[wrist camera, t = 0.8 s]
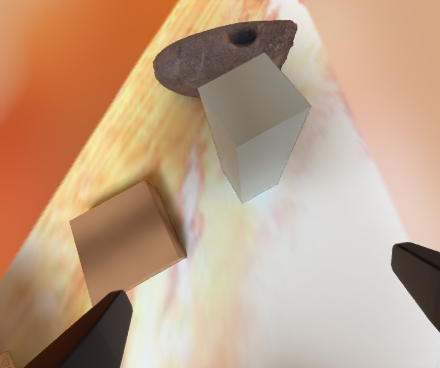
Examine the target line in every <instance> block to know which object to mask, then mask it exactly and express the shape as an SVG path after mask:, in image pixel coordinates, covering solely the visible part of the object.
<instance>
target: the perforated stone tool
mask: <svg viewBox="0 0 440 368" xmlns="http://www.w3.org/2000/svg"><path fill="white" fill-rule="evenodd" d="M296 31H297V24H295V23H294V22H293V21H291V20H273V21H251V22H240V23H235V24H230V25H226V26H222V27H217V28H214V29H210V30H207V31H203V32H201V33H196V34H194V35H191V36H188V37H186V38H183V39H181V40H179V41H176V42H174V43H172V44H171V45H169V46H167V47H166V48H165V49H164V50H162V51H161V52H160V53H159V54H158V55H157V56H156V58H155V60H154V61H153V64H154V65H153V68H154V71H155V72H154V73H155V77H156V79H157V80H158V81H159V82H160V83H161V84H162V85H163V86H164V87H166V88H167V89H169V90H171V91H174V92H176V93H178V94H182V95H186V96H191V97H200V94H199V91H198V88H199V87H201V86H203V85H205V84H207V83H209V82H211V81H212V80H214V79H216V78H218V77H220V76H222V75H224V74H226V73H227V72H229V71H231V70H233V69H235V68H237V67H239V66H240V65H242V64H244V63H246V62H248V61H250V60H252V59H254V58H255V57H257V56H259V55H261V54H263V53H265V54H266V55H267V56H268V57H269V58H270V59H271V60H272V62H273V63H274V64H275V65H276V66H277V67H278V68H279V69H280V71H281V67H282V65H283V64H284V62H285V61H286V59H287V55H288V53H289V50H290V48H291V47H292V46H293V43H294V42H293V40H294V37H295V34H296Z"/></svg>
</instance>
